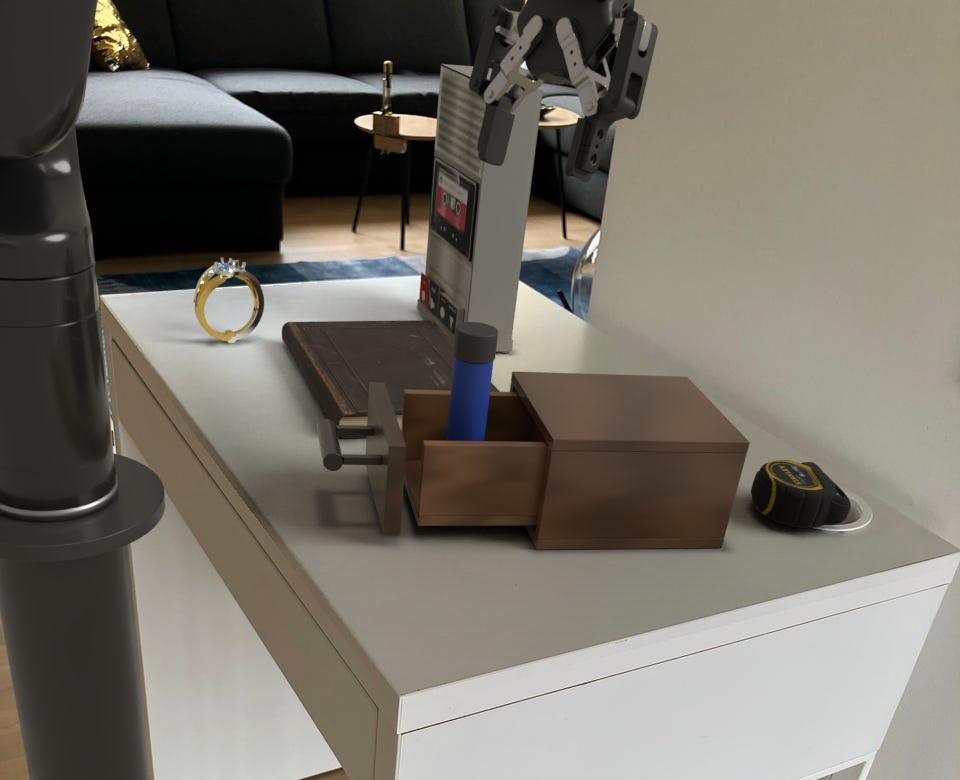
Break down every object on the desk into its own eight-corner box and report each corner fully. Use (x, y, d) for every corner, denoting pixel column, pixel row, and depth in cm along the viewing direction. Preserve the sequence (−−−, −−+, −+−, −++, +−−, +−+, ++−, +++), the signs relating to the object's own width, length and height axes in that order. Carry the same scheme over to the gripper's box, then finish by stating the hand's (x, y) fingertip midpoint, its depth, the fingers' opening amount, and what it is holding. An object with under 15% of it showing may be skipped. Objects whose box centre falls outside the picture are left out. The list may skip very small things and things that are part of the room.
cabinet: (536, 549, 78) (553, 439, 73) (499, 472, 88) (512, 371, 83) (722, 548, 81) (750, 442, 76) (665, 473, 91) (687, 376, 86)
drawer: (324, 535, 74) (327, 445, 70) (312, 463, 83) (314, 380, 79) (566, 534, 78) (581, 448, 74) (529, 465, 87) (541, 386, 83)
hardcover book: (431, 341, 112) (433, 319, 111) (511, 430, 95) (514, 406, 94) (281, 344, 107) (281, 321, 106) (336, 439, 90) (337, 413, 88)
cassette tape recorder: (414, 311, 120) (432, 63, 106) (465, 311, 122) (489, 67, 108) (457, 355, 110) (483, 86, 96) (511, 353, 112) (544, 90, 98)
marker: (444, 493, 79) (459, 335, 72) (437, 475, 81) (451, 320, 75) (483, 493, 80) (502, 336, 73) (475, 476, 82) (493, 322, 75)
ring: (257, 333, 109) (256, 253, 104) (269, 344, 107) (268, 263, 102) (190, 339, 106) (186, 256, 101) (201, 350, 103) (197, 266, 99)
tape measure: (844, 537, 85) (859, 495, 82) (765, 536, 83) (777, 493, 81) (809, 497, 90) (822, 457, 88) (734, 495, 89) (745, 454, 87)
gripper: (484, -104, 73) (429, 145, 78) (649, -109, 65) (576, 170, 70) (550, -58, 79) (494, 171, 84) (710, -57, 71) (638, 198, 76)
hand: (531, 170), depth 77 cm, fingers open, 8 cm apart
